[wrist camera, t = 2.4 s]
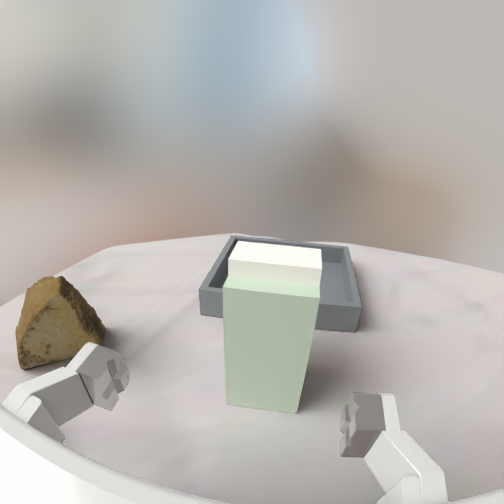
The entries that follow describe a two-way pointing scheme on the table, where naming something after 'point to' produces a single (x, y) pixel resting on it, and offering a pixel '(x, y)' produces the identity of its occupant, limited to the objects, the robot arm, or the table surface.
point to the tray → (331, 285)
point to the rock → (55, 323)
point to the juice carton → (269, 323)
